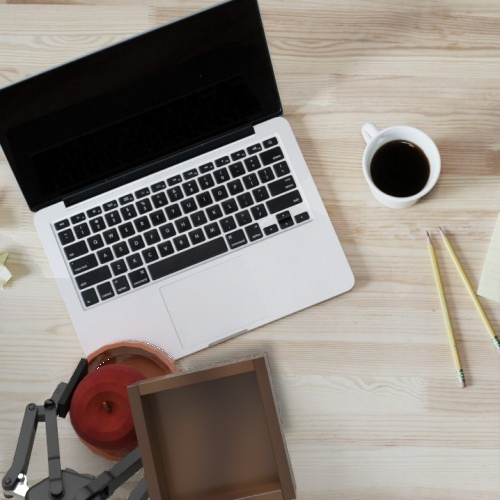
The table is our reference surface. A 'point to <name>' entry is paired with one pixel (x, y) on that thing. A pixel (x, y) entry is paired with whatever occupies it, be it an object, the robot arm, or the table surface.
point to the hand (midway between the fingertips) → (126, 377)
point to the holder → (213, 433)
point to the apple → (105, 407)
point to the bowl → (136, 356)
